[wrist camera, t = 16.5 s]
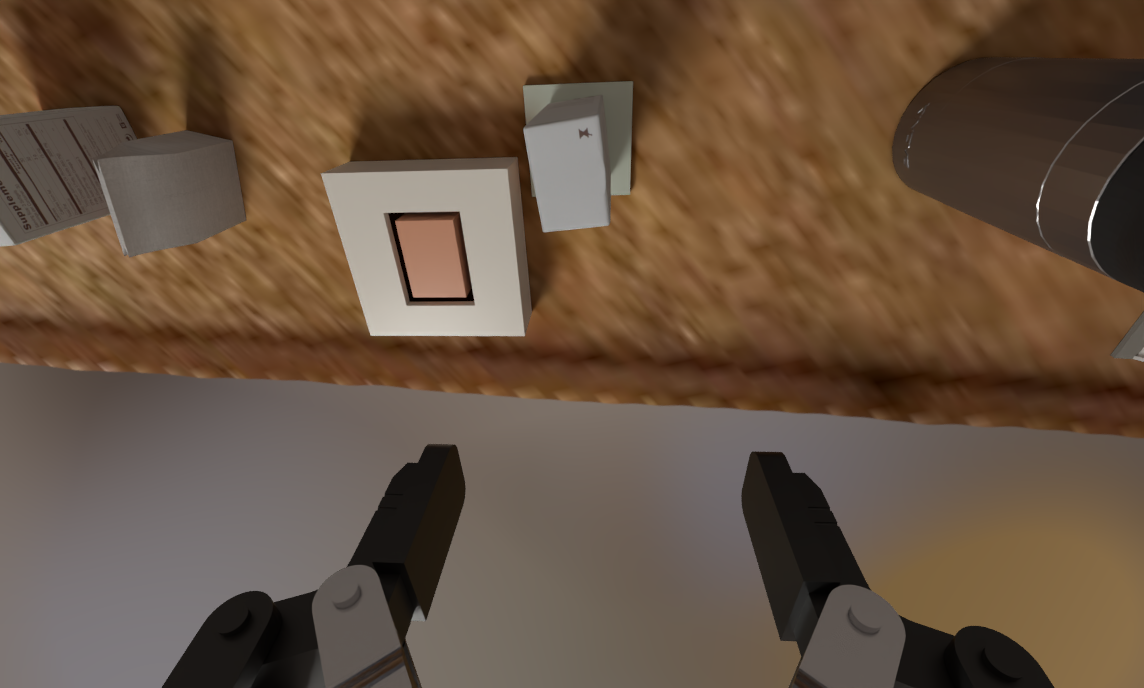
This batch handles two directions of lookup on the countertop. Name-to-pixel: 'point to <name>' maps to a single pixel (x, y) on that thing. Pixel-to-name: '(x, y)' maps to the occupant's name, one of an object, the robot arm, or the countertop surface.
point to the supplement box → (54, 168)
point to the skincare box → (570, 164)
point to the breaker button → (434, 254)
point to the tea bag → (170, 190)
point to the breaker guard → (489, 237)
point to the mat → (616, 116)
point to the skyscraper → (1132, 342)
